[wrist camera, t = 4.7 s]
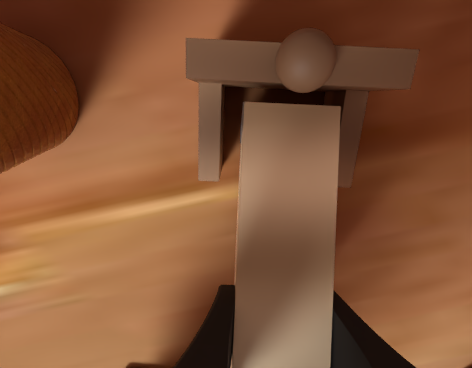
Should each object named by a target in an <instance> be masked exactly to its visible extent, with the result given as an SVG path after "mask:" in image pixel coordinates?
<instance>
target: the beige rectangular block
mask: <svg viewBox="0 0 472 368" xmlns="http://www.w3.org/2000/svg"><path fill="white" fill-rule="evenodd" d="M340 112H341V106H324V105H303V104H283V103H262V102H243V108H242V119H241V130H240V143H241V148H240V170H239V191H238V212H237V234H236V255H235V276H234V285H235V313H234V331H233V349H232V360H231V368H330V362H331V337H332V312H333V287H334V262H335V237H336V212H337V187H338V162H339V137H340Z"/></svg>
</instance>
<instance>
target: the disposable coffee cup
mask: <svg viewBox="0 0 472 368" xmlns="http://www.w3.org/2000/svg"><path fill="white" fill-rule="evenodd" d="M78 108H79V105H78V95H77V91H76V87H75V84H74V81H73V79H72V77H71V75H70V73H69V71H68V69H67V68H66V66H65V65H64V64H63V62H62V61H61V59H60V58H59V57H58V56H57V55H56V54H55V53H54V52H53V51H52V50H51V49H49V48H48V47H47V46H45V45H44V44H42V43H41V42H39V41H38V40H36V39H34V38H32V37H30V36H27V35H25V34H23V33H21V32H19V31H16V30H14V29H12V28H10V27H8V26H6V25H3V24H1V23H0V174H1V173H2V172H6V171H8V170H9V169H11V168H12V167H15V166H17V165H19V164H21V163H24V162H25V161H27V160H29V159H32V158H33V157H35V156H37V155H40V154H42V153H43V152H45V151H48V150H50V149H52V148H54V147H56V146H58V145H59V144H61V143H63V141H64V140H65V139H66V138H67V137H68V136H69V135H70V134H71V132H72V130H73V128H74V126H75V124H76V120H77V117H78Z"/></svg>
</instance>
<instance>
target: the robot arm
mask: <svg viewBox="0 0 472 368" xmlns="http://www.w3.org/2000/svg"><path fill="white" fill-rule="evenodd" d="M234 313H235V285H220V286H219V288H218V292H217V295H216V297H215V300H214V302H213V304H212V307H211V309H210V311H209V313H208V315H207V317H206V318H205V320H204V322H203V324H202V326H201V327H200V329H199V331H198V332H197V334H196V336H195V337H194V339H193V341H192V342H191V344H190V345H189V347H188V348H187V349H186V351H185V352H184V354H183V355H182V356H181V358H180V359H179V361H178V362H177V363H176V364H175V366H174V367H173V368H231V360H232V349H233V331H234ZM330 368H416V367H415V366H413V365H412V364H411V363H410V362H408V361H407V360H406V359H405V358H403V357H402V356H401V355H400V354H399V353H397V352H396V351H395V350H394V349H393V348H392V347H391V346H390V345H388V344H387V343H386V342H385V341H384V340H383V339H382V338H381V337H380V336H378V335H377V334H376V333H375V332H374V331H373V330H372V329H371V328H370V327H369V326H368V325H367V324H366V323H365V322H364V321H363V320H362V319H361V318H360V317H359V316H358V315H357V314H356V313H355V312H354V311H353V310H352V309H351V308H350V307H349V306H348V305H347V304H346V303H345V302H344V301H343V299H342V298H341V297H340V296H339V295H338V294H337V293H336V292H335V291H334V290H333V312H332V337H331V362H330Z"/></svg>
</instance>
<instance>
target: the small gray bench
mask: <svg viewBox="0 0 472 368" xmlns="http://www.w3.org/2000/svg"><path fill="white" fill-rule="evenodd" d="M418 54H419V49H400V48H379V47H359V46H339V45H334V44H333V42H332V40H331V39H330V38H329V36H328V35H327V34H325V33H324V32H323V31H321V30H318V29H315V28H303V29H299V30H297V31H294V32H293V33H291V34H290V35H289V36H287V37H286V38H285V39H284V41H283V42H282V43H278V42H258V41H238V40H218V39H198V38H186V78H187V79H190V80H193V81H195V82H198V83H199V175H198V181H219V179H220V175H221V170H222V163H223V131H224V100H225V86H226V87H246V88H267V89H287V90H292V91H294V92H298V93H307V92H311V91H325V98H324V106H341V112H340V137H339V162H338V187H346V188H351V184H352V179H353V174H354V168H355V163H356V158H357V152H358V147H359V142H360V136H361V131H362V126H363V120H364V115H365V110H366V104H367V99H368V94H369V91H381V90H402V89H410V88H411V84H412V80H413V75H414V71H415V67H416V62H417V58H418Z"/></svg>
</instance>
